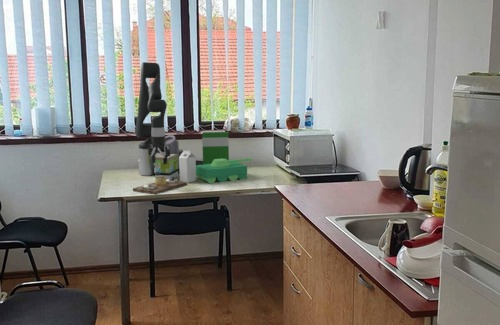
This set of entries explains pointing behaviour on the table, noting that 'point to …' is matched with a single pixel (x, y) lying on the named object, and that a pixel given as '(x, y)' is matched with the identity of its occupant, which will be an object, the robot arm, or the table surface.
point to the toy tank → (222, 170)
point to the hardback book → (215, 146)
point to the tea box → (166, 166)
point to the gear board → (157, 189)
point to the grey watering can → (173, 146)
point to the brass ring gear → (160, 181)
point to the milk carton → (187, 166)
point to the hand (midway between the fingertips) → (159, 163)
